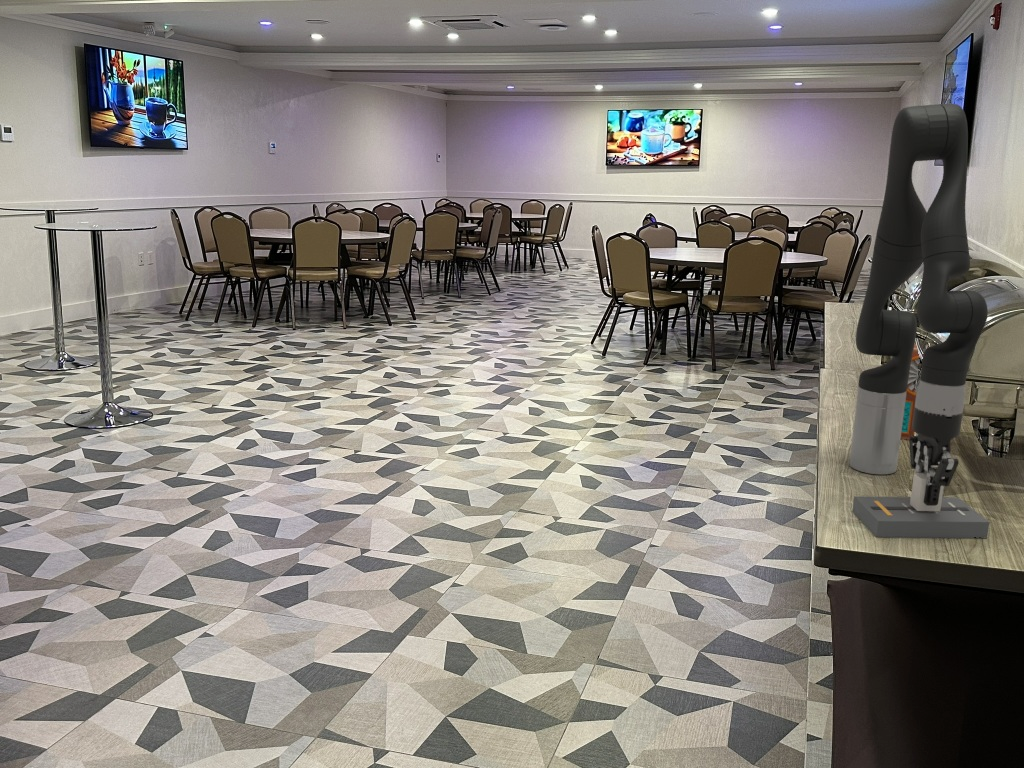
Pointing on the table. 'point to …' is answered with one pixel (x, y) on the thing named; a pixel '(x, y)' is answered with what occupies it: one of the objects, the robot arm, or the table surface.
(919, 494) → the fader
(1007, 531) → the table surface
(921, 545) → the table surface
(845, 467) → the table surface
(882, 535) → the console
